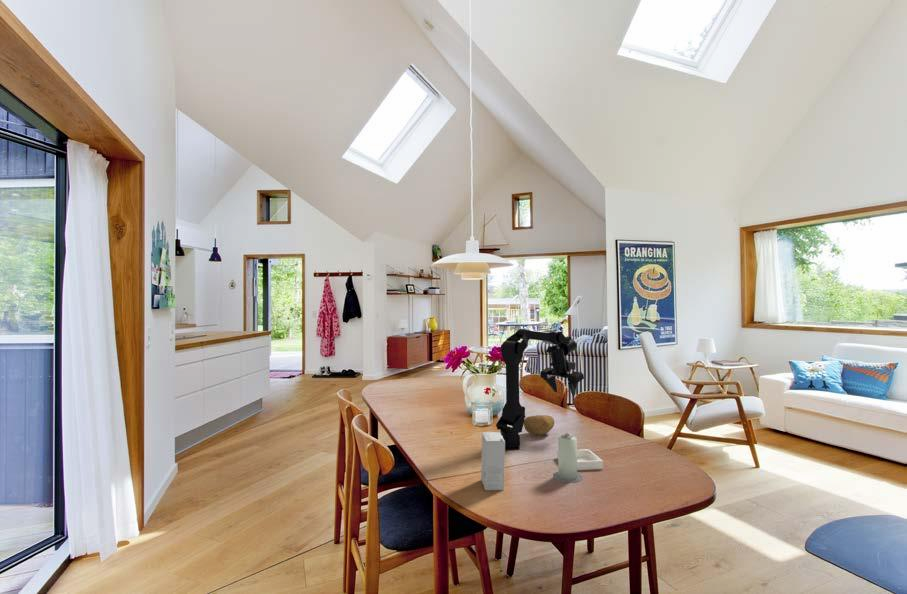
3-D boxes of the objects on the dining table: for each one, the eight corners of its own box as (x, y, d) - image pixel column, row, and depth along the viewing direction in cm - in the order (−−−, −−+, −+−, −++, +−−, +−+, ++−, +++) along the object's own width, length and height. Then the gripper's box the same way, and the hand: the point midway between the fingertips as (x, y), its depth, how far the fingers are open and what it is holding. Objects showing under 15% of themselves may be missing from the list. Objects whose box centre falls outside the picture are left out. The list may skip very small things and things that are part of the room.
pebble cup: (562, 480, 135) (561, 435, 135) (555, 473, 140) (555, 430, 140) (579, 479, 135) (579, 435, 135) (573, 472, 141) (572, 429, 141)
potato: (560, 435, 182) (560, 415, 182) (532, 440, 176) (532, 420, 176) (546, 429, 191) (545, 410, 191) (518, 433, 184) (518, 414, 185)
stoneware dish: (569, 472, 143) (569, 462, 143) (557, 459, 154) (557, 450, 154) (603, 470, 144) (603, 460, 144) (588, 458, 155) (588, 449, 155)
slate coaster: (558, 485, 133) (558, 483, 133) (548, 473, 142) (548, 471, 142) (587, 483, 134) (587, 481, 134) (576, 472, 143) (576, 470, 143)
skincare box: (480, 480, 137) (480, 431, 137) (499, 479, 138) (499, 431, 138) (485, 491, 129) (485, 440, 129) (505, 490, 129) (505, 439, 129)
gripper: (588, 354, 184) (594, 389, 186) (552, 350, 198) (558, 383, 201) (572, 364, 177) (579, 400, 180) (536, 359, 192) (543, 393, 194)
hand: (564, 393), depth 189 cm, fingers open, 9 cm apart
